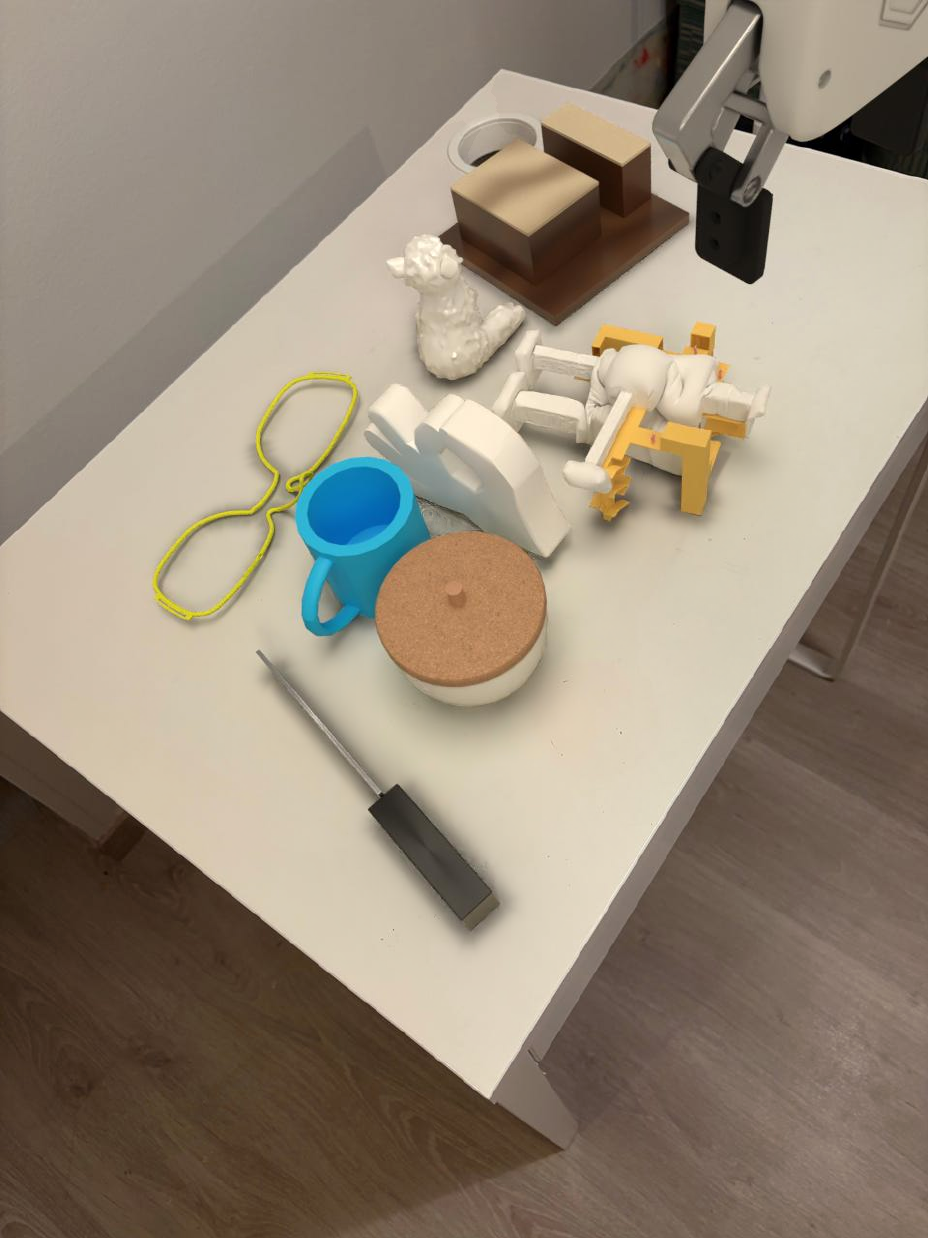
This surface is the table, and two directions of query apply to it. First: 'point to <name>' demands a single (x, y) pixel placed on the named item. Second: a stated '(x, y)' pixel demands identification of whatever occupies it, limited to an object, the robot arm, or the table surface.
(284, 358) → the table surface
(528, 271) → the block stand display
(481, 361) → the white creature statuette
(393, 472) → the mug
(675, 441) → the figure
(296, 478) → the glasses
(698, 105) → the robot arm
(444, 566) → the trinket box
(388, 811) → the tall black pillar
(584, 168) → the wooden step piece
